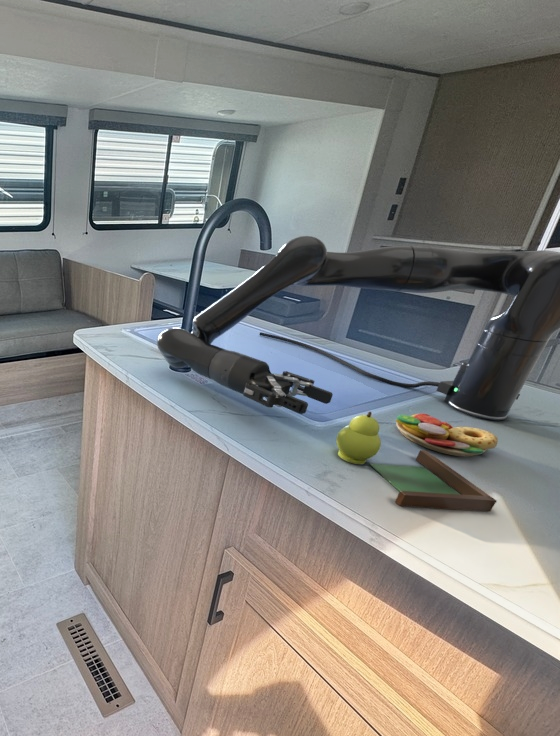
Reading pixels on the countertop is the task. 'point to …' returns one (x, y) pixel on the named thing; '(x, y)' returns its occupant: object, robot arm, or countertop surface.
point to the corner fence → (434, 486)
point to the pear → (359, 439)
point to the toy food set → (445, 435)
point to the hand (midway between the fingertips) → (318, 403)
